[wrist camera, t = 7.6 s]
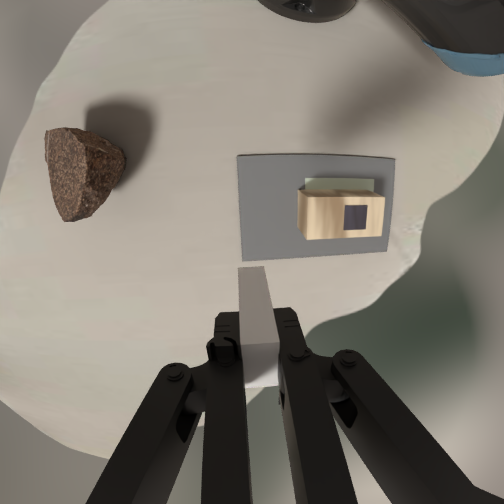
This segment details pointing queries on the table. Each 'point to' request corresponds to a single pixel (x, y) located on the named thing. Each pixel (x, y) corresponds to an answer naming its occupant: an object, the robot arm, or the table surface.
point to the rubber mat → (286, 202)
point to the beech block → (339, 213)
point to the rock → (81, 170)
